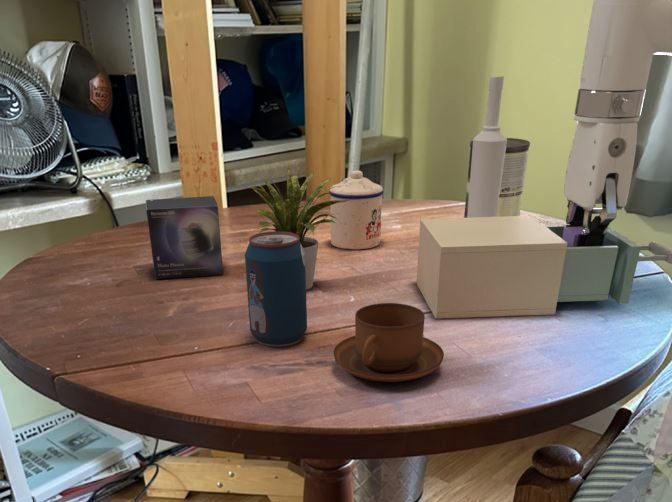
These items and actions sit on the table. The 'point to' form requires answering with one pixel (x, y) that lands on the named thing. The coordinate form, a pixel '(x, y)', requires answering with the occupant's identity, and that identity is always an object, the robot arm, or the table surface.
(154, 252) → the small box
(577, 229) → the purple cube
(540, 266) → the beige box
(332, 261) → the table surface
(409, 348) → the cup and saucer
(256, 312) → the soda can
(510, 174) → the coffee can
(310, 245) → the house plant
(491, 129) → the bottle
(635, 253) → the drawer
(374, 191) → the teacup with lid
